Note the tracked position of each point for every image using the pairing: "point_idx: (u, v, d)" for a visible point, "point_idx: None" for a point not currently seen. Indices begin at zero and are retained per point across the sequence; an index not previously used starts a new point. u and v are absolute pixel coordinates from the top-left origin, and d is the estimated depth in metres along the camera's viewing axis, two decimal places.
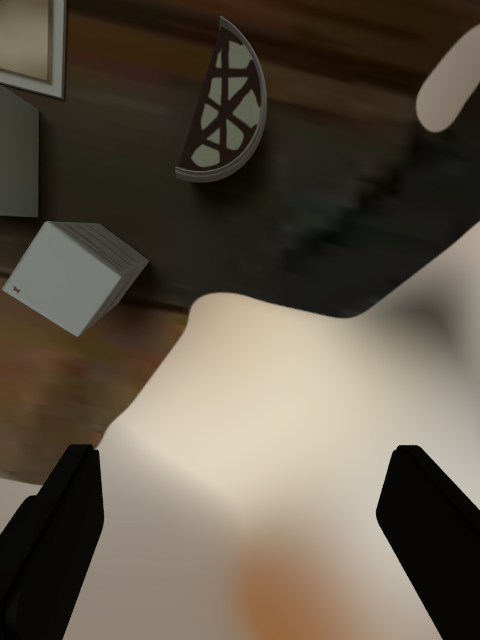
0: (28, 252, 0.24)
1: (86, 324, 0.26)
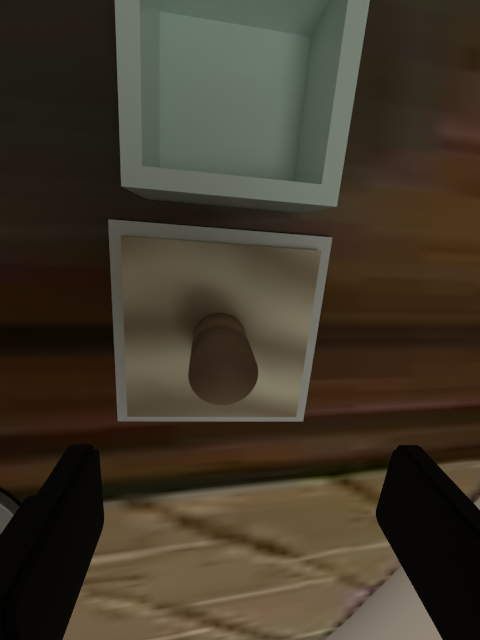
0: None
1: None
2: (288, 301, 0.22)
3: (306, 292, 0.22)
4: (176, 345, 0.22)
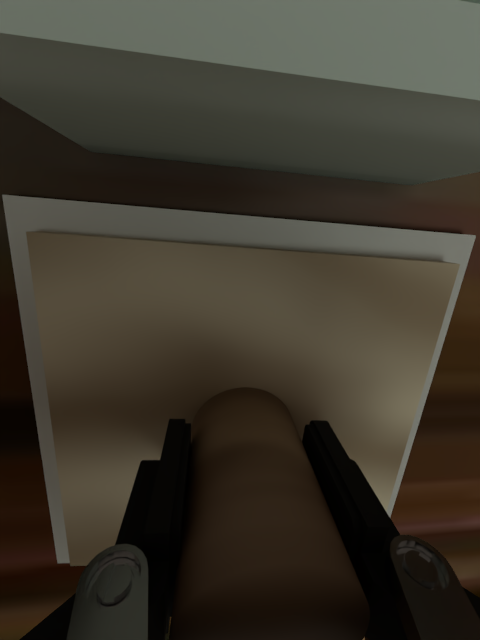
0: None
1: None
2: (381, 364, 0.11)
3: (419, 346, 0.11)
4: (158, 447, 0.11)
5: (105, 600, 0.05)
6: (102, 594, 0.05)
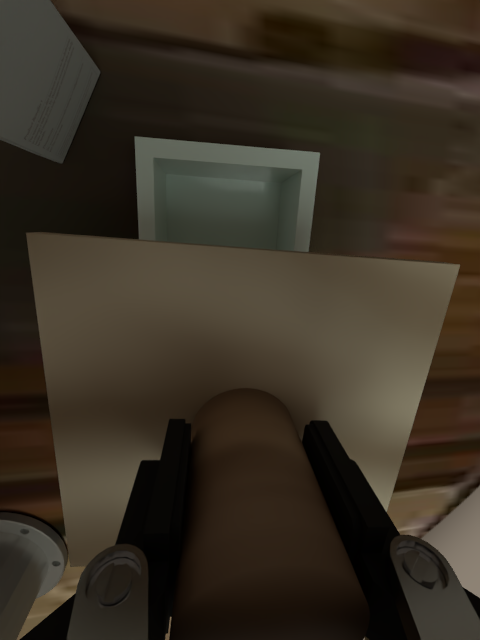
0: None
1: None
2: (381, 364, 0.11)
3: (419, 347, 0.11)
4: (158, 448, 0.11)
5: (105, 600, 0.05)
6: (102, 594, 0.05)
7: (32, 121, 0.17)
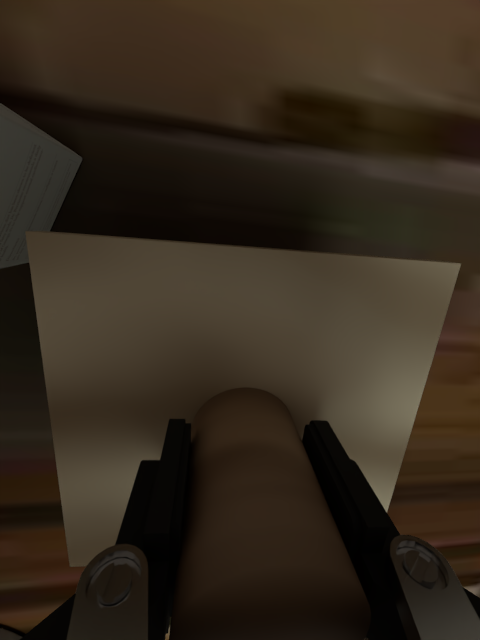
0: None
1: None
2: (382, 364, 0.11)
3: (420, 346, 0.11)
4: (158, 448, 0.11)
5: (105, 599, 0.05)
6: (102, 594, 0.05)
7: None
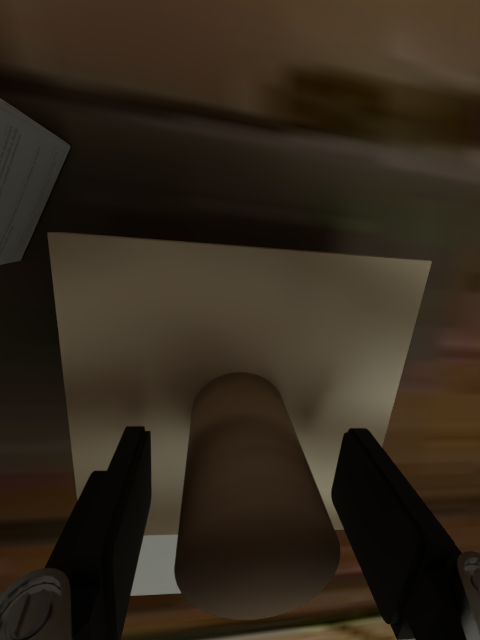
0: None
1: None
2: (363, 351, 0.12)
3: (397, 335, 0.12)
4: (162, 427, 0.13)
5: (20, 635, 0.05)
6: (15, 629, 0.05)
7: None
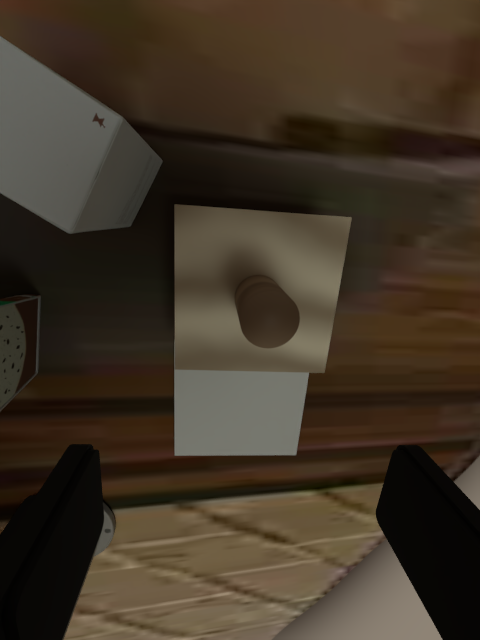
0: (88, 185, 0.17)
1: None
2: (320, 264, 0.25)
3: (337, 256, 0.25)
4: (219, 304, 0.25)
5: None
6: None
7: (122, 212, 0.24)
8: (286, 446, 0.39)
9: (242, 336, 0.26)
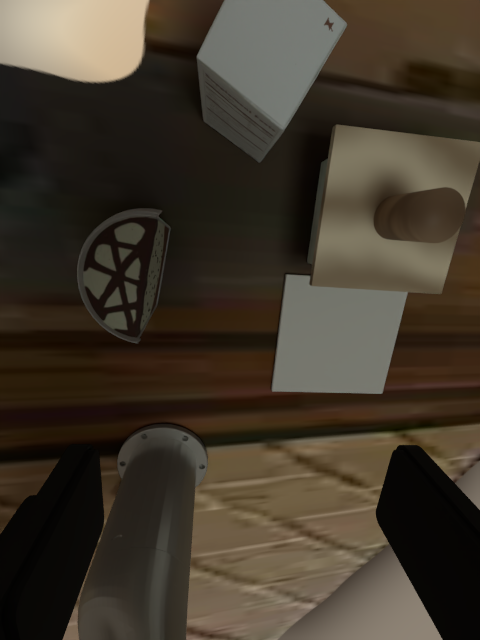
0: (307, 84, 0.20)
1: None
2: (452, 187, 0.28)
3: (467, 179, 0.28)
4: (360, 223, 0.28)
5: None
6: None
7: None
8: (374, 384, 0.42)
9: (375, 255, 0.29)
